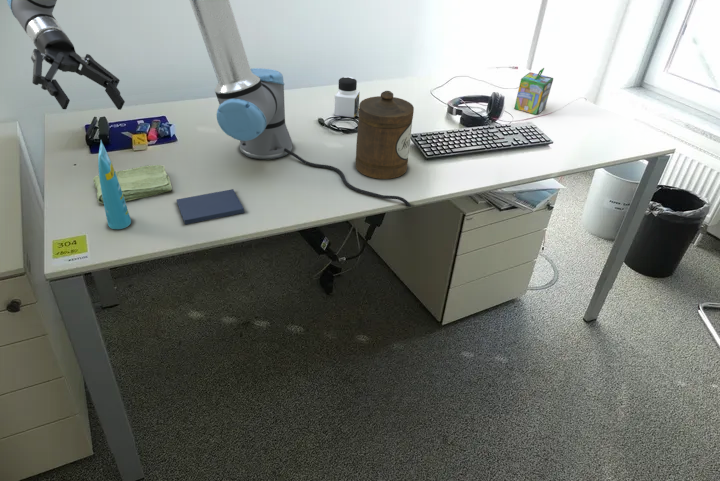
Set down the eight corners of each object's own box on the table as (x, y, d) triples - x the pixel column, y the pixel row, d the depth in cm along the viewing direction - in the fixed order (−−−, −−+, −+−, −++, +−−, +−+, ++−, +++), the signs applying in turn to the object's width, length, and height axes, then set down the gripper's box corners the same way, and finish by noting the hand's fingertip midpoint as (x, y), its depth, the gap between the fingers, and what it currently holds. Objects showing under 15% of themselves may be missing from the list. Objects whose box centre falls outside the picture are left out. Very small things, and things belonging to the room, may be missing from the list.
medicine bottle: (354, 118, 176) (356, 83, 169) (334, 115, 177) (334, 80, 170) (358, 110, 182) (360, 76, 175) (339, 108, 183) (339, 74, 176)
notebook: (233, 193, 133) (233, 188, 132) (244, 212, 125) (243, 208, 125) (177, 203, 127) (176, 199, 127) (184, 224, 120) (184, 220, 120)
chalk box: (522, 102, 196) (531, 62, 187) (545, 108, 192) (556, 68, 183) (512, 109, 190) (522, 68, 181) (537, 115, 186) (547, 74, 177)
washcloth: (175, 193, 131) (173, 181, 129) (99, 208, 124) (96, 196, 122) (164, 170, 141) (162, 159, 139) (93, 183, 133) (90, 172, 132)
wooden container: (411, 179, 143) (420, 102, 130) (357, 179, 141) (361, 101, 129) (403, 155, 155) (410, 82, 142) (353, 154, 153) (356, 81, 141)
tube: (133, 230, 118) (113, 152, 106) (110, 234, 116) (87, 156, 105) (129, 213, 123) (110, 138, 112) (107, 217, 121) (85, 141, 110)
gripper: (95, 58, 138) (136, 116, 134) (-10, 48, 117) (35, 117, 113) (104, 35, 134) (147, 95, 130) (-2, 21, 113) (44, 91, 109)
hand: (95, 105), depth 122 cm, fingers open, 13 cm apart
